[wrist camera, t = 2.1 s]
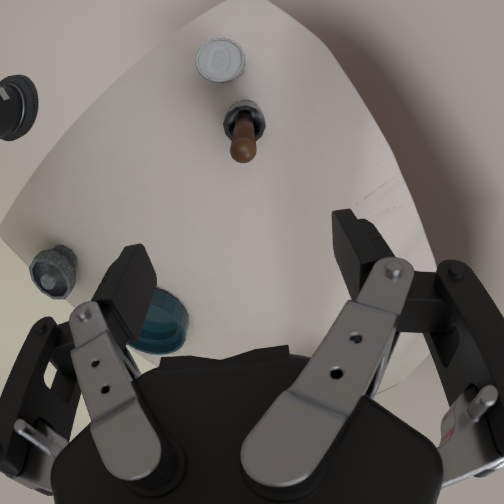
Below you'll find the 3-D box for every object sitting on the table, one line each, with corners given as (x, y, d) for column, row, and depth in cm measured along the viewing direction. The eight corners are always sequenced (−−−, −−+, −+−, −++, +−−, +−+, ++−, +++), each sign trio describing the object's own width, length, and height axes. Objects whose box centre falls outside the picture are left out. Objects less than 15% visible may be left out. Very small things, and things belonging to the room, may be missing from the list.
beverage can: (206, 78, 35) (190, 80, 25) (212, 45, 32) (198, 34, 22) (242, 82, 36) (240, 85, 26) (248, 50, 33) (249, 40, 23)
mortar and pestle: (72, 284, 55) (48, 325, 45) (40, 256, 50) (11, 293, 40) (96, 256, 51) (69, 299, 41) (60, 223, 47) (27, 262, 37)
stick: (239, 124, 38) (232, 168, 22) (236, 110, 37) (226, 143, 21) (253, 121, 38) (259, 163, 22) (250, 108, 37) (254, 138, 21)
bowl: (137, 339, 64) (131, 355, 59) (106, 289, 55) (98, 306, 51) (198, 333, 62) (195, 352, 58) (173, 280, 54) (168, 298, 50)
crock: (231, 134, 40) (228, 148, 33) (224, 103, 37) (219, 110, 30) (264, 128, 39) (268, 140, 33) (258, 97, 37) (260, 102, 30)
